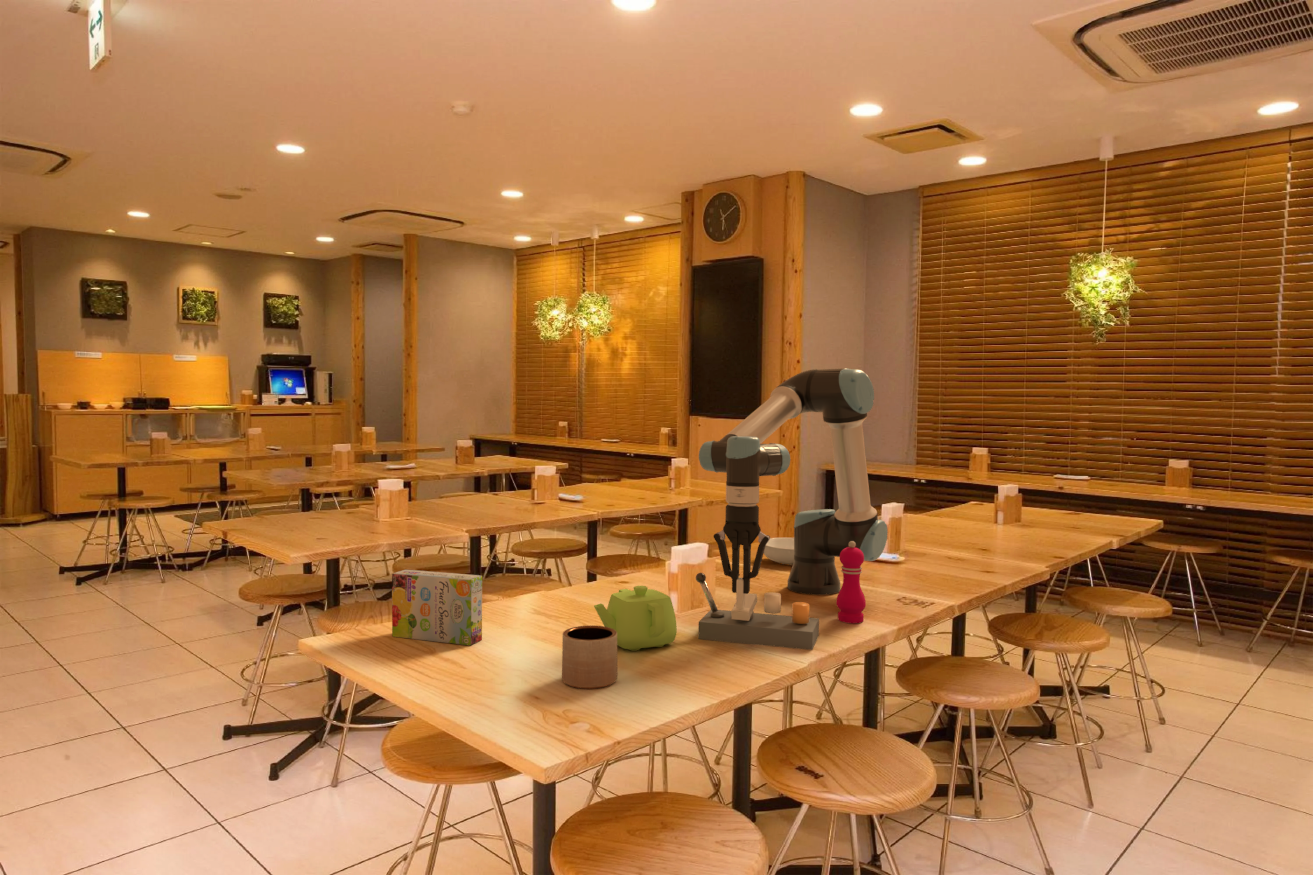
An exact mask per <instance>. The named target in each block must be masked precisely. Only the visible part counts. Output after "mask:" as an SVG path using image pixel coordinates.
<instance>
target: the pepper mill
mask: <svg viewBox="0 0 1313 875" xmlns="http://www.w3.org/2000/svg"><path fill="white" fill-rule="evenodd" d="M848 545H849V547H847V548H845V549H843V550H842V551H841V553H840V557H839V561H840V563H841V564H842V565H841V573H842V576H843V578H842V585H841V586H840V591H839V592H838V594H837V597H836V600H835V603H836V607H837V608H838V609H839V611H838V612H837V619H838V622H842V623H845V624H860V623H863V622H864V619H865V618H864V613H863V611H864V609H865V608H866V604H867V603H866V600H867V599H866V597H865V594H864V592H863V590H862V587H861V583H860V582H861V581H860V577H861V574H862V573H863V571H862V569H863V567H862V565H863V564H864V562H865V561H864V554H863V552H862V551H861V550H860V549H858V548H855V546H856V544H855V542H854V541H850V542H849V544H848Z"/></svg>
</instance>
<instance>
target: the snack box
mask: <svg viewBox="0 0 1313 875" xmlns="http://www.w3.org/2000/svg"><path fill="white" fill-rule="evenodd" d="M391 575H392V576H391V607H392V608H391V626H392V627H391V628H392V630H391V632H392V633H391V635H392V637H393V638H402V639H403V638H404V639H412V640H421V641H429V642H438V643H447V644H454V645H455V644H456V645H464V646H472V645H474V644H476V643H479V642H481V641H483V575H479V574H465V573H455V572H442V571H441V572H439V571H427V570H415V569H403V570H399V571H396V572H393V573H392V574H391Z"/></svg>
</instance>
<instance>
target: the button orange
mask: <svg viewBox="0 0 1313 875" xmlns="http://www.w3.org/2000/svg"><path fill="white" fill-rule="evenodd" d="M791 612H792V613H791V616H792V622H794V623H798V624H806V623H809V618H810V604H809V603H807V602H802V601H795V602H793V603H792V609H791Z"/></svg>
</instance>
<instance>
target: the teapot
mask: <svg viewBox="0 0 1313 875" xmlns="http://www.w3.org/2000/svg"><path fill="white" fill-rule="evenodd" d="M593 607H594V609H595V611H596V613H597V615H598V616H599V619H600V621H601V623H602V626H604V627H609V628H612V629H614V630H616V631H617V647H619V648H622V649H623V650H629V651H634V652H635V651H636V652H637V651H640V650H641V649H646V648H653V647H656V648H662V647H664V646H665V645H668V644H672V643H674V641H675V639H676V636H677V619H676V612H675V609H674V605H673V601H672V598H671V596H670V595H668V594H666V593H663V592H662V591H660V590H657V589H653V588H649V587H648V586H646V585H635V586H633V590H631V589H629V588H623V589H618V592H613V593H611V594H610V598H609V601H608V605H607V607H606V606H605V604H603V603H598V604H594V606H593Z"/></svg>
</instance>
